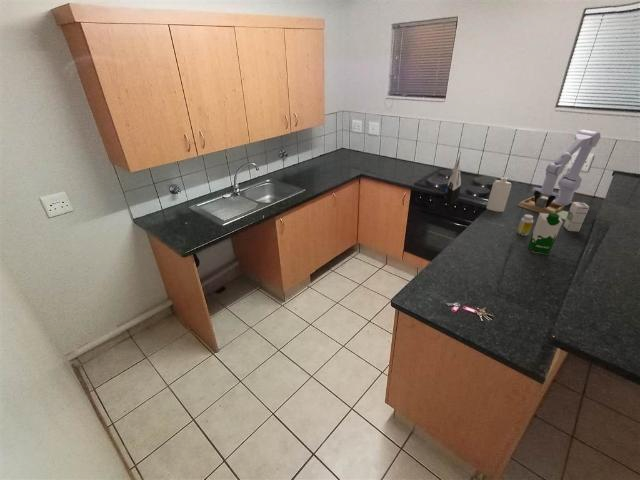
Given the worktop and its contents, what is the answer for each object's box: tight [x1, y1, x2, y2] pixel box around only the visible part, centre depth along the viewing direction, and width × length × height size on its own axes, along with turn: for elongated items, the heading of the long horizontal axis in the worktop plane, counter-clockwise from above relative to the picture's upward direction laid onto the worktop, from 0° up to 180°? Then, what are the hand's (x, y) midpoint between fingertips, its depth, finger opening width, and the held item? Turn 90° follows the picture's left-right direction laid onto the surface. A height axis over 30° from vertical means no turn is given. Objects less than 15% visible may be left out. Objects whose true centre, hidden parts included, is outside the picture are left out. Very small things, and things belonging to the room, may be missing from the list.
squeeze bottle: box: [486, 176, 512, 213], centre depth 189 cm, size 10×20×5 cm
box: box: [535, 195, 549, 209], centre depth 193 cm, size 7×4×6 cm, turn 124°
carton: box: [518, 196, 565, 214], centre depth 194 cm, size 17×18×3 cm
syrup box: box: [562, 201, 590, 232], centre depth 168 cm, size 6×6×14 cm
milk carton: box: [528, 213, 564, 255], centre depth 149 cm, size 9×9×20 cm
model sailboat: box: [443, 151, 462, 205], centre depth 203 cm, size 10×24×30 cm, turn 157°
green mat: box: [555, 209, 569, 221], centre depth 185 cm, size 12×7×1 cm, turn 124°
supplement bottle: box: [516, 214, 534, 236], centre depth 166 cm, size 6×6×10 cm
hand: (541, 205), depth 194 cm, fingers open, 6 cm apart
